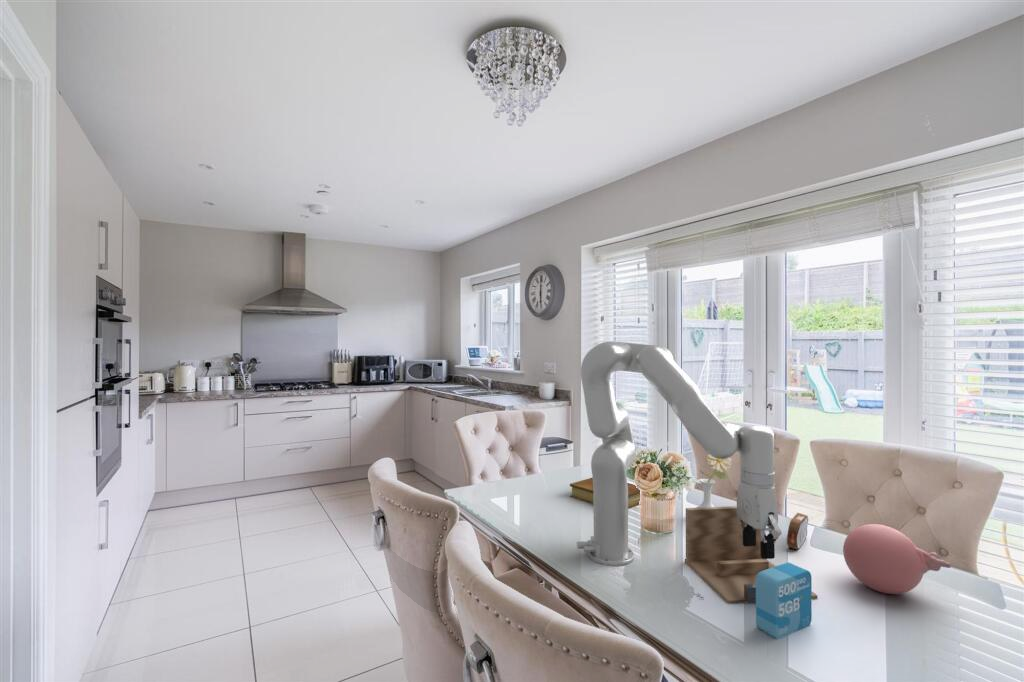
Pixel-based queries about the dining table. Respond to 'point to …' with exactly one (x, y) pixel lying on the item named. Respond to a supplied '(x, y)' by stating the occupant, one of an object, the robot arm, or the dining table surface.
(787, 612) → the data package
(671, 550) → the dining table surface
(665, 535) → the dining table surface
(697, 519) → the shelf
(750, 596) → the grey rectangular bar
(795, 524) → the tin
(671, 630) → the dining table surface
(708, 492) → the flower in vase
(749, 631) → the dining table surface
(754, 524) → the robot arm
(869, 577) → the balloon
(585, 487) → the diary
